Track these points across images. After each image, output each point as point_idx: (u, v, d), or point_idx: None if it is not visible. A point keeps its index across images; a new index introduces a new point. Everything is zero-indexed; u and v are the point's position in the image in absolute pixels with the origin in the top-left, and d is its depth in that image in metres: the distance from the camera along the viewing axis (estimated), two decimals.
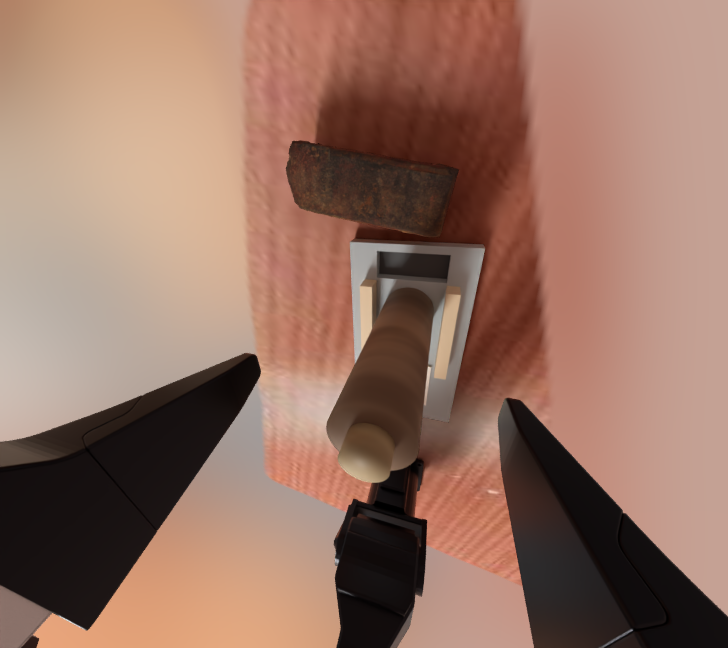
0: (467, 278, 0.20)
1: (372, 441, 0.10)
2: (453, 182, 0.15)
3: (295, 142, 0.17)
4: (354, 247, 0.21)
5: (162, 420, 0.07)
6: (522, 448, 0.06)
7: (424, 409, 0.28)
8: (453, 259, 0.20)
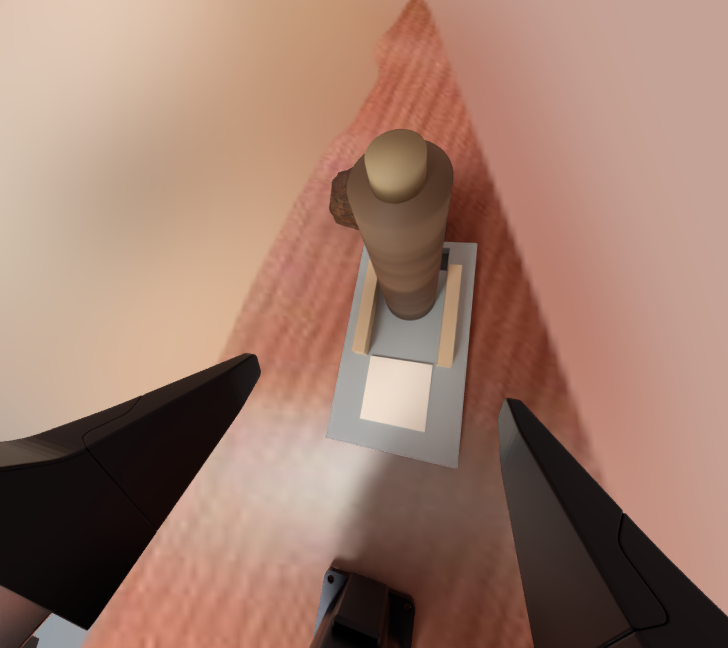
0: (465, 266, 0.22)
1: None
2: None
3: None
4: None
5: (162, 420, 0.07)
6: (522, 448, 0.06)
7: (422, 442, 0.20)
8: (452, 251, 0.23)
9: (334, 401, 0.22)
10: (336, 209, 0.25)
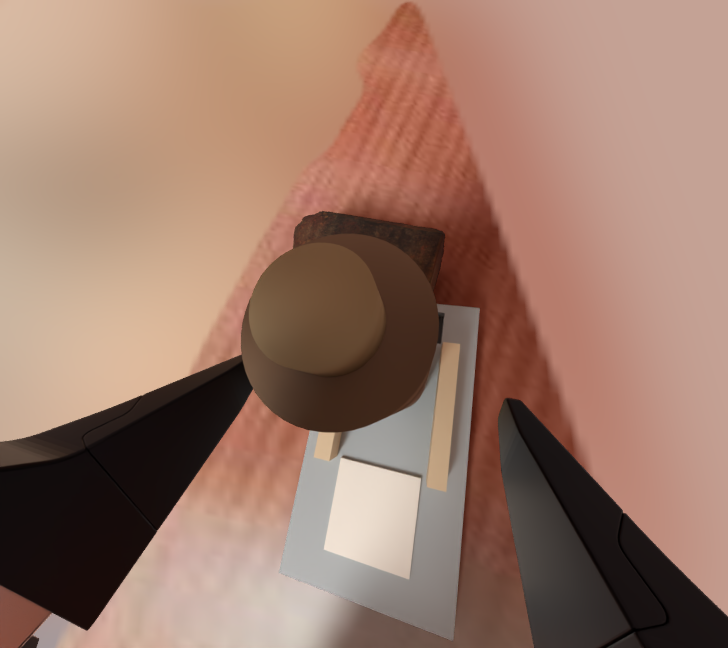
0: (464, 339, 0.17)
1: None
2: (441, 238, 0.16)
3: (310, 215, 0.20)
4: None
5: (162, 420, 0.07)
6: (522, 448, 0.06)
7: (405, 594, 0.14)
8: (447, 317, 0.18)
9: (292, 519, 0.16)
10: None
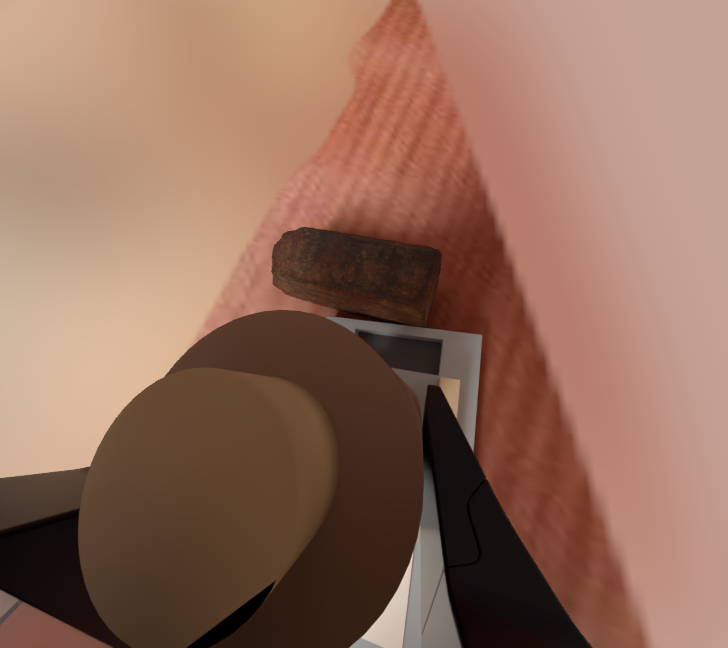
0: (464, 370, 0.15)
1: (267, 380, 0.03)
2: (438, 258, 0.14)
3: (290, 231, 0.18)
4: None
5: None
6: (425, 428, 0.07)
7: None
8: (446, 344, 0.16)
9: None
10: (281, 285, 0.18)
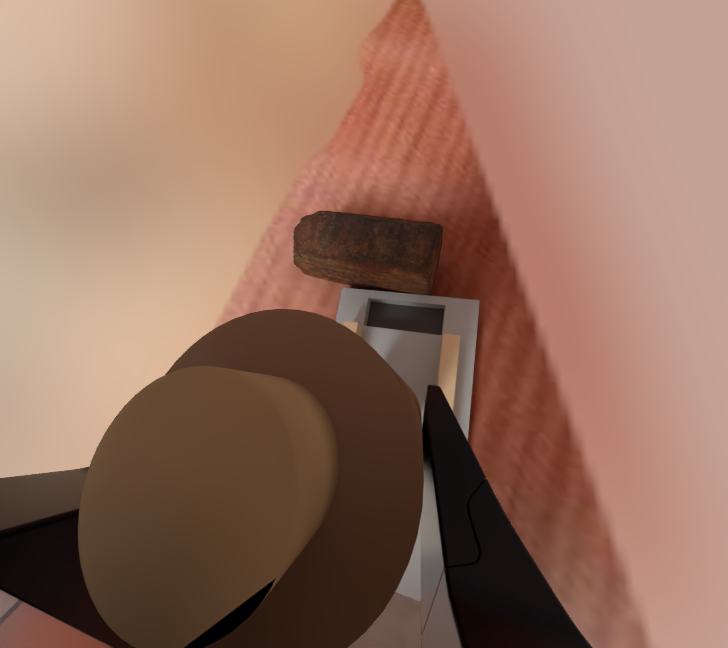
0: (464, 330, 0.18)
1: (267, 379, 0.03)
2: (440, 231, 0.17)
3: (308, 215, 0.20)
4: (345, 292, 0.20)
5: None
6: (425, 428, 0.07)
7: (408, 571, 0.15)
8: (448, 309, 0.18)
9: None
10: (302, 263, 0.20)
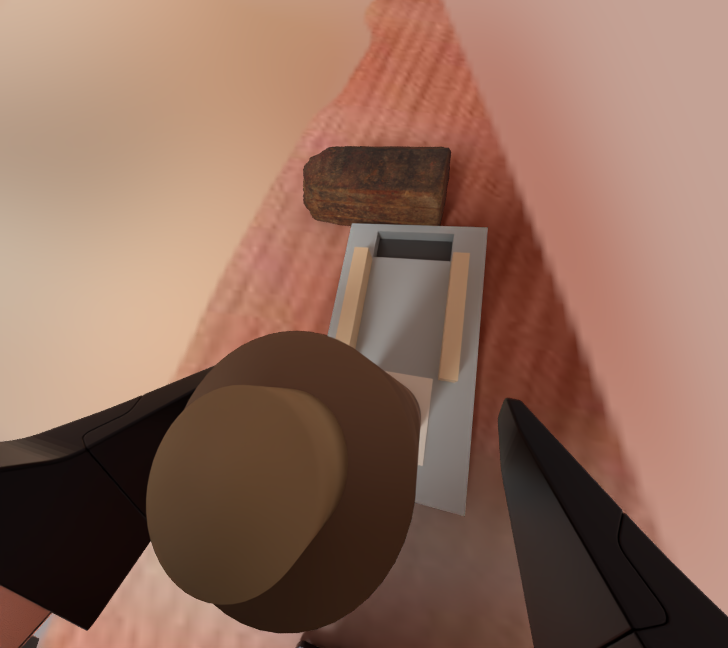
0: (473, 255, 0.18)
1: (289, 394, 0.04)
2: (448, 154, 0.17)
3: (316, 156, 0.21)
4: (355, 228, 0.21)
5: (162, 420, 0.07)
6: (522, 448, 0.06)
7: (419, 479, 0.15)
8: (456, 237, 0.19)
9: None
10: (312, 201, 0.20)
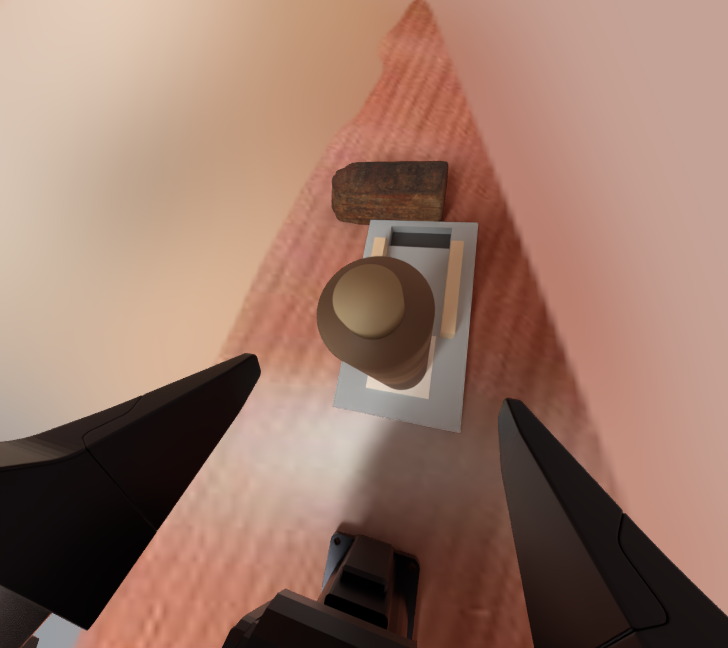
0: (466, 244, 0.23)
1: None
2: (446, 166, 0.22)
3: (341, 170, 0.26)
4: (373, 223, 0.26)
5: (162, 420, 0.07)
6: (522, 448, 0.06)
7: (426, 409, 0.20)
8: (454, 230, 0.24)
9: (340, 372, 0.22)
10: (339, 205, 0.26)
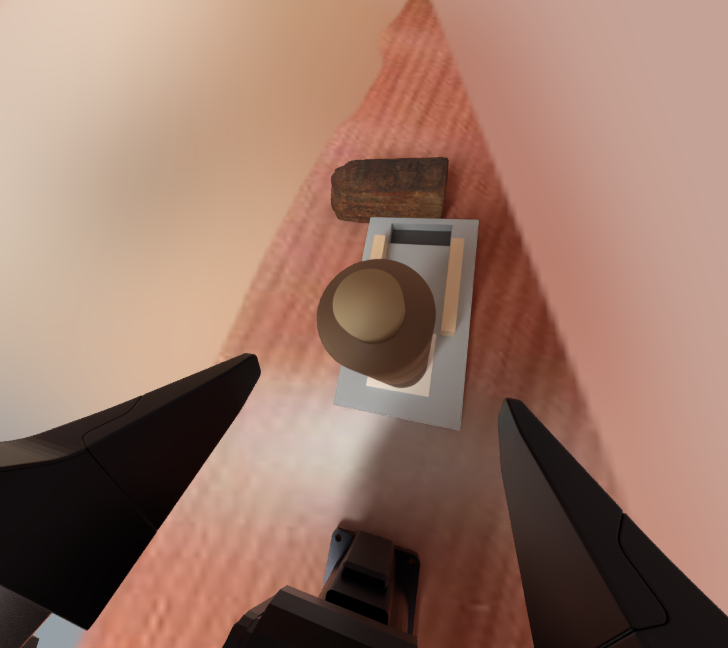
0: (467, 241, 0.23)
1: None
2: (447, 162, 0.22)
3: (339, 168, 0.26)
4: (373, 220, 0.26)
5: (162, 420, 0.07)
6: (522, 448, 0.06)
7: (426, 407, 0.20)
8: (454, 227, 0.24)
9: (341, 370, 0.22)
10: (338, 204, 0.25)
